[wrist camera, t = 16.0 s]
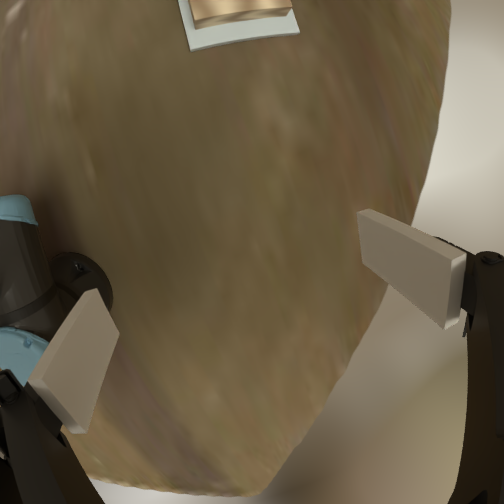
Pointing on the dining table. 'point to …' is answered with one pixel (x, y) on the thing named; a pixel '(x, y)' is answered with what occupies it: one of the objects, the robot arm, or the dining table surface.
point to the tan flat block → (235, 11)
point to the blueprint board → (235, 29)
